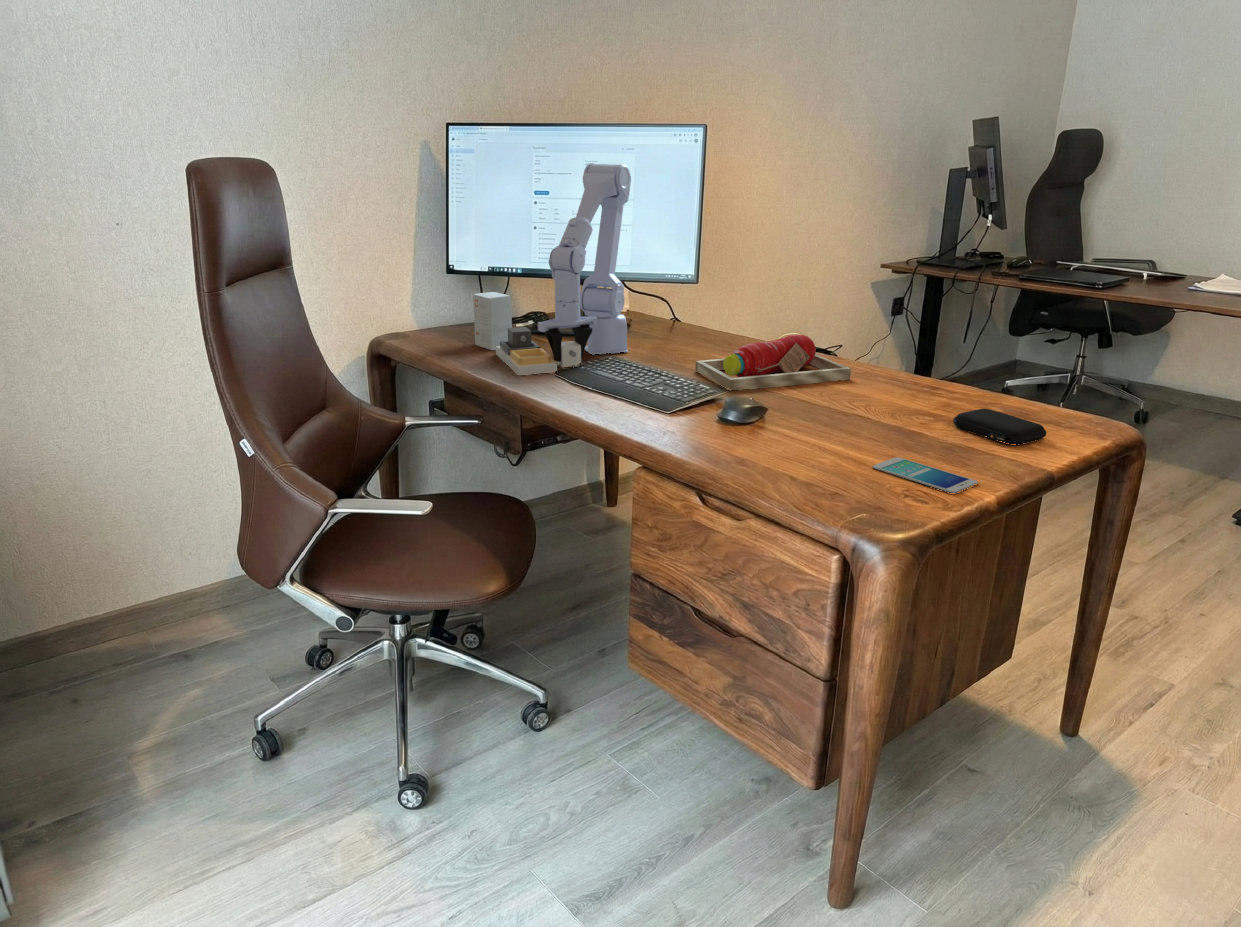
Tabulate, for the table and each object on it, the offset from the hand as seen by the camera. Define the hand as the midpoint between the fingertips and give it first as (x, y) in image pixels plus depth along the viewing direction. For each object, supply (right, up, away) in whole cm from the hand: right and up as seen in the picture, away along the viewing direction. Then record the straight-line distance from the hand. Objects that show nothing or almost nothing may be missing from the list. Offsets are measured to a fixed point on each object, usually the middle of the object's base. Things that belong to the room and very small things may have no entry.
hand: (568, 359), depth 211 cm
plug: (0, -1, 0) cm, 1 cm away
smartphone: (+60, -27, -66) cm, 93 cm away
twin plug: (-12, +3, +6) cm, 13 cm away
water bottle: (+46, -5, -7) cm, 47 cm away
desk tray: (+46, -5, -8) cm, 47 cm away
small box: (-20, +5, +19) cm, 28 cm away
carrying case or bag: (+80, -19, -46) cm, 94 cm away
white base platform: (-10, -1, +2) cm, 10 cm away
